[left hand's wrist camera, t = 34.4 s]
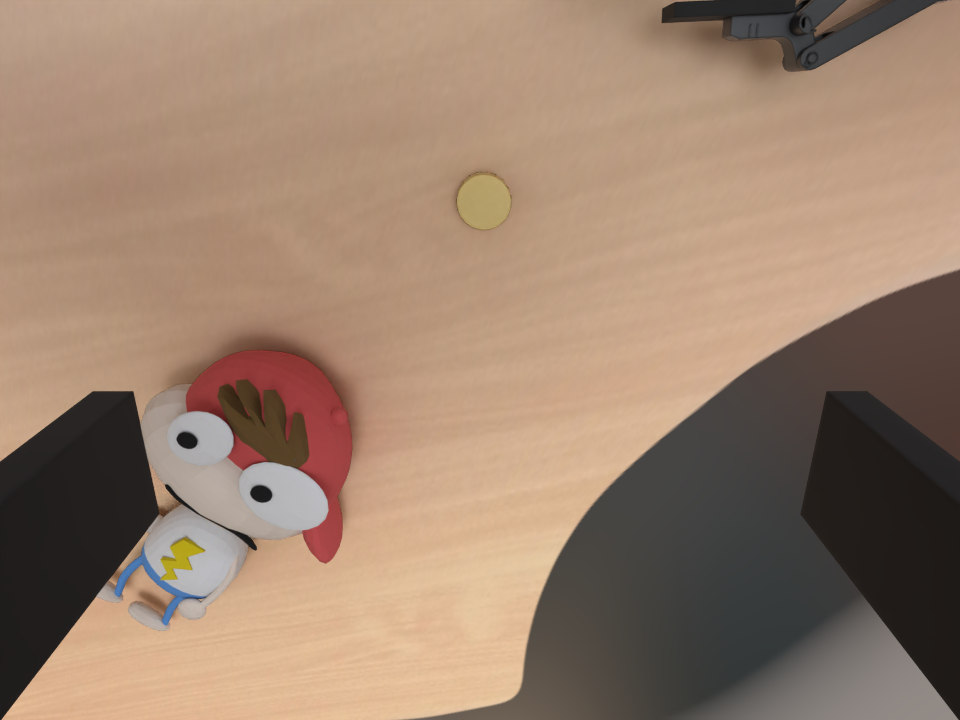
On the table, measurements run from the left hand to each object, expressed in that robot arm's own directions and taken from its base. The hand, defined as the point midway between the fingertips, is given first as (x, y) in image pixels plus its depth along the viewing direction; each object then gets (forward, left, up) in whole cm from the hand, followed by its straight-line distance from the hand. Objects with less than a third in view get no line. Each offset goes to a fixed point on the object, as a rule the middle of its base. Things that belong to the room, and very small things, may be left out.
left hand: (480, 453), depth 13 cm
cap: (0, 0, -35) cm, 35 cm away
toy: (-3, -32, -36) cm, 48 cm away
